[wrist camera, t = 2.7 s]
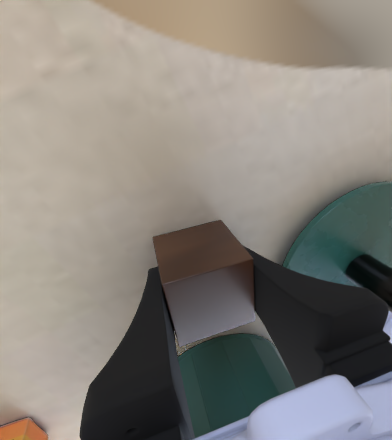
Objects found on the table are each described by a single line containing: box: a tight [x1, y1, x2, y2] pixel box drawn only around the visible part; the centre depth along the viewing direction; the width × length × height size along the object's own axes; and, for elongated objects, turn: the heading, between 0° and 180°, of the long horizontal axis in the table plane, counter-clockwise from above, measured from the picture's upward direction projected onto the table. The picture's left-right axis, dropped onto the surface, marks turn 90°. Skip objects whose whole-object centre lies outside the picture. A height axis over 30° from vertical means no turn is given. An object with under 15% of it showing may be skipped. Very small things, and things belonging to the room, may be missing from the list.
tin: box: [178, 334, 296, 438], centre depth 19 cm, size 12×12×6 cm
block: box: [153, 220, 255, 347], centre depth 13 cm, size 4×4×4 cm
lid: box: [282, 181, 392, 313], centre depth 16 cm, size 13×13×5 cm
